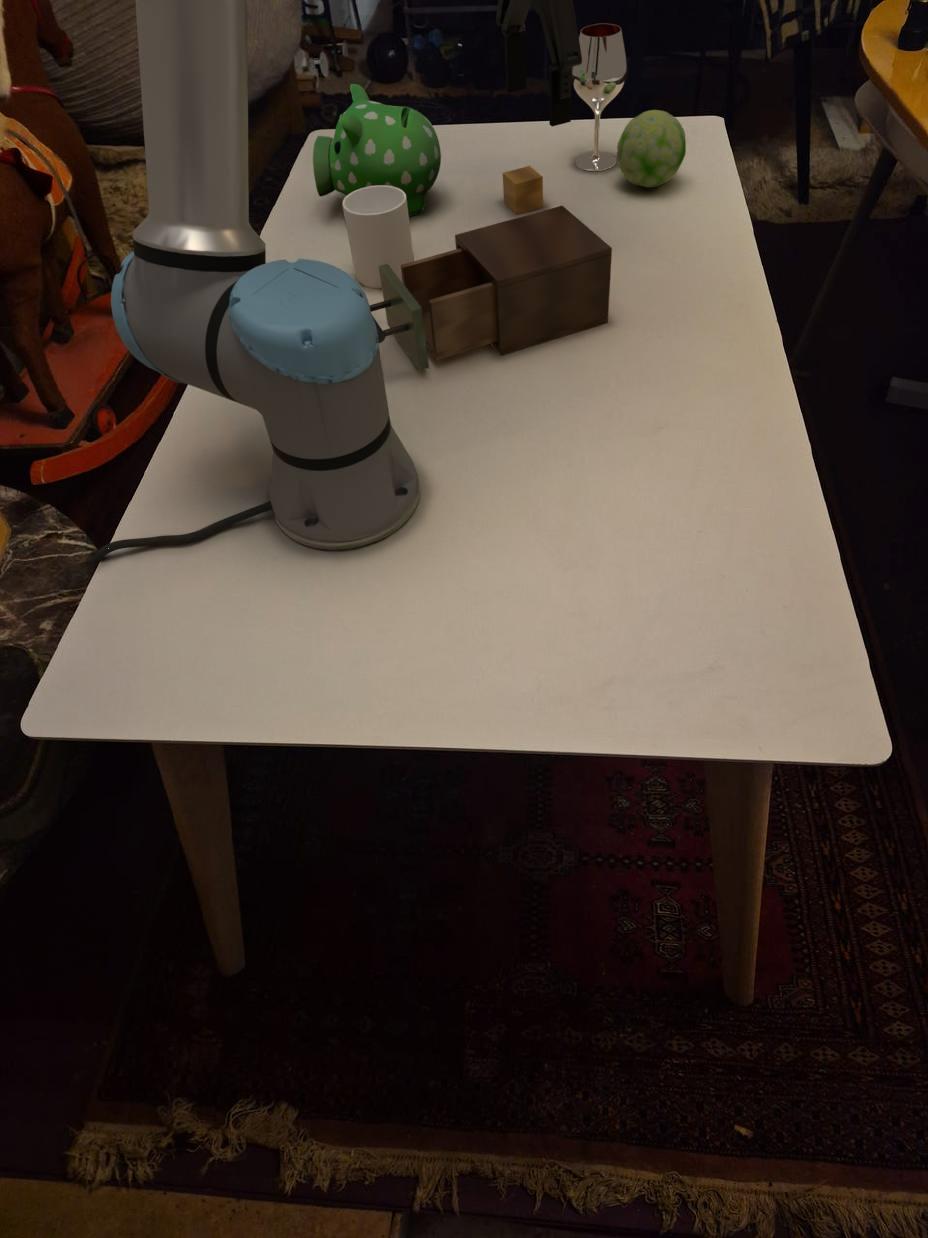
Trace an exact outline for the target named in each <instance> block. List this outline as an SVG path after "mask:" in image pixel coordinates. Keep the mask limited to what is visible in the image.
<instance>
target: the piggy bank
mask: <svg viewBox="0 0 928 1238" xmlns="http://www.w3.org/2000/svg"><path fill="white" fill-rule="evenodd" d="M349 88H350V93H351V94H350V95H351V98H352V103H351V104H350V106H349V107H348V108H347V109H346V110H345V111H344V112H343V113H342V114H340V115H339V119H338V120H337V124H336V126H335V130H334V134H333V137H331V136H325V135H317V137H316V138H315V140H314V143H313V149H312V170H313V177H314V183H315V188H316V191H317V194H318V196H319V197H324V196H326V195H329V194H332V193H333V192H334V191H336V192H338V193H340V194H342V195H345V197H346V196H347V195H349V194H350V193H352V192H354V191H356V190H358V189H361V188H365V187H370V186H379V185H384V186H393V187H396V188H399V189H401V190H402V191H403V192H404V193H405V194H406V199H407V207H408V215H409V217H411V216H418V215H420V214H421V213H422V212H423V210H424V208H425V206H426V196H427V193H428V192H429V191H430V190H431V189H432V188H433V186H434V185H435V182H436V181H437V179H438V175H439V174H440V169H441V162H442V161H441V160H442V152H441V146H440V140H439V138H438V135H437V131H436V129H435V128H434V126H433V124H432V122H430V120H429V119H428V118H427V117H426V116H425V115H423V113H421V112H419V111H418V110H416V109H414V108H411V107H408V106H401V105H400V106H399V105H398V106H397V105H394V106H393V105H389V104H385V103H381V102H377V101H375V100H370V97H369V96H368V93H367V92H366V90H365V89H364V88H363V87H362V86H361V85H360V84H356V83H351V84H350V85H349Z"/></svg>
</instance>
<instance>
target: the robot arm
mask: <svg viewBox="0 0 928 1238" xmlns="http://www.w3.org/2000/svg"><path fill="white" fill-rule="evenodd" d="M531 5H532V7H533V10H534V12H535V13H536V14H538V15H539V19H540V23H541V26H542V30H543V34H544V38H545V41H546V45H547V49H548V52H549V55H550V59H551V64H550V65H549V66H548V68H547V70H548V74H549V75H548V77H549V81H548V83H549V84H548V85H549V87H548V89H549V90H548V91H549V92H548V93H549V94H548V96H549V101H548V102H549V103H548V108H549V110H548V112H549V114H548V115H549V120H548V121H549V122H548V123H549V126H551V127H557V126H561V125H564V124H567V123H571V122H572V80H571V77H572V67H573V66H577V65H581V63H582V55H581V49H580V43H579V36H580V35H579V30H578V24H577V19H576V12H575V6H574V0H498V2H497V8H496V15H495V22H496V25H497V26H498V27H501V33H502V36H504V58H505V59H504V60H505V61H504V63H505V84H506V85H505V88H506V89H505V90H506V92H507V93H508V94H510V93H511V94H512V93H514V92H518V91H522V90H526V89H527V55H526V54H527V52H526V51H527V49H526V34H525V33H524V32H525V31H527V26H526V24H525V22H526V19H527V16H528V14H529V11H530V8H531ZM135 15H136V29H137V30H136V31H137V45H138V59H139V60H138V61H139V62H138V63H139V77H140V91H141V92H140V94H141V108H142V109H141V110H142V123H143V138H144V139H143V140H144V153H145V156H144V157H145V170H146V184H147V185H146V187H147V201H148V213H147V215H146V217H145V218H144V219H143V220H142V221H141V223H140V224H138V225H137V227H136V228H135V229H134V230H133V231H132V246H133V251H130V253H128V254H127V256H126V257H125V258H123V260H122V262H121V264H120V268H121V270H120V271H119V273H116V274H115V275H114V278H113V281H112V285H111V293H110V294H111V295H110V305H111V313H112V318H113V323H114V325H115V329H116V331H117V334H118V336H119V338H120V339H121V341H122V343H123V344H124V346H125V347H126V349H127V350H128V351H129V353H130V354H131V355H132V356H133V357H134V358H135V359H136V360H137V361H138V362H140V363H141V364H143V365H144V366H146V367H147V368H149V369H151V370H154V371H156V372H158V373H159V374H161V376H163V377H165V378H167V379H169V380H171V381H173V382H175V383H179V384H185V385H189V386H191V387H194V388H197V389H200V390H202V391H205V392H208V393H209V394H210V393H211V394H213V395H216V396H218V397H221V398H224V399H226V400H229V401H232V402H235V403H238V404H240V405H243V406H245V407H248V408H251V409H253V410H256V411H257V412H258V413H259V414H260V415H261V417H262V419H263V420H262V421H263V423H264V426H265V430H266V433H267V435H268V439H269V442H270V445H271V448H272V460H271V471H270V482H269V499H270V500H269V501H267V502H263V503H260V504H258V505H256V506H253V507H250V508H248V509H245V510H243V511H239V512H238V513H235V514H233V515H230V516H227V517H225V518H222V519H221V520H218V521H215V522H213V523H212V524H209V525H207V526H204V527H203V528H201V529H197V530H195V531H192V532H188V533H184V534H168V535H157V536H150V537H138V538H137V537H136V538H127V539H126V538H125V539H119V540H115V541H111V542H109V543H107V544H105V545H104V546H102V547H100V548H99V549H98V550H97V551H96V552H95V553H94V554H93V557H92V558H91V563H92V564H99V563H100V562H102V561H103V560H104V558H106V556H107V555H109V554H110V553H113V552H115V551H118V550H124V549H131V548H145V547H153V546H161V545H179V544H186V543H191V542H195V541H198V540H201V539H203V538H206V537H208V536H209V535H212V534H214V533H217V532H218V531H221V530H223V529H226V528H228V527H230V526H233V525H235V524H238V523H240V522H244V521H245V520H248V519H251V518H253V517H256V516H258V515H261V514H264V513H266V512H269V511H271V510H272V513H273V516H274V520H275V522H276V524H277V525H278V527H279V528H280V530H281V531H282V532H283V533H284V534H285V535H286V536H288V538H290V539H292V540H293V541H295V542H297V543H299V544H301V545H304V546H307V547H310V548H314V549H319V550H331V551H335V550H336V551H337V550H338V551H339V550H350V549H355V548H360V547H364V546H367V545H370V544H373V543H375V542H378V541H380V540H382V539H384V538H386V537H387V536H390V535H392V534H394V533H395V532H396V531H397V530H399V529H400V528H401V527H402V526H403V525H404V524H405V523H406V522H407V521H408V520H409V519H410V518H411V516H412V515H413V513H414V512H415V510H416V508H417V506H418V504H419V499H420V495H421V488H420V481H419V474H418V472H417V469H416V466H415V462H414V461H413V458H412V457H411V456H410V454H409V452H408V450H407V449H406V447H405V446H404V444H403V442H402V441H401V439H400V438H399V435H398V434H397V433H396V431H395V429H394V427H393V426H392V422H391V417H390V411H389V404H388V398H387V396H388V395H387V391H386V383H385V377H384V371H383V364H382V357H381V352H380V346H379V345H380V343H378V333H377V330H376V324H375V322H374V319H373V317H374V316H373V314H372V312H371V310H370V306H369V305H370V303H369V300H368V296H367V294H366V292H365V291H364V289H363V287H362V286H361V285H360V284H359V282H357V281H358V280H357V279H355V278H354V277H353V276H351V275H350V274H349V273H347V272H346V271H344V270H342V269H341V268H339V267H336V266H335V265H332V264H329V263H327V262H323V261H321V260H320V261H319V260H314V259H306V258H298V259H297V260H296V261H293V262H289V261H288V260H287V259H279V260H273V261H269V262H267V261H266V260H267V259H266V258H267V257H266V255H267V253H266V251H267V249H266V248H267V247H266V246H267V245H266V243H265V241H264V240H263V239H262V238H261V236H260V235H259V234H258V233H257V232H256V231H255V229H254V228H253V227H252V225H251V223H250V222H249V221H250V220H249V219H250V213H249V210H250V208H249V206H250V202H249V201H250V199H249V197H250V196H249V195H250V194H249V192H250V191H249V82H248V81H249V76H248V73H249V72H248V71H249V69H248V67H249V66H248V65H249V64H248V60H249V59H248V58H249V57H248V0H135ZM519 32H520V33H519ZM371 314H372V315H371ZM372 316H373V317H372ZM108 548H109V549H108Z"/></svg>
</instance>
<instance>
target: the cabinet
mask: <svg viewBox="0 0 928 1238" xmlns="http://www.w3.org/2000/svg"><path fill="white" fill-rule="evenodd" d="M454 241H455V242H454V243H455V250H456V249H459V248H462V249H463V250H464V251H465V252H466V253H467V254H468V255H469V257H470V258H471V259H472V260H473V261H474V262H475V263H476V264H477V265H478V266H479V268H480V269H481V270H482V271H483V272H484V273H485V274H486V275H487V276H488V277H489V278H490V280H491V281H492V282H493V283H494V284H495V296H496V316H497V336H498V341H497V342H493V343H490V345H491V346H492V347H493V348H494V349H495V350H496V352H497V353H498V354H499V355H500V356H505V355H508V354H512V353H514V352H517V351H520V350H521V351H522V350H524V349H527V348H531V347H533V346H537V345H540V344H544V343H547V342H550V341H553V340H557V339H560V338H563V337H566V336H569V335H572V334H576V333H579V332H582V331H585V330H589V329H593V328H595V327H599V326H601V325H605V324H607V323H608V322H609V309H610V293H611V292H610V289H611V277H612V276H611V275H612V274H611V273H612V259H613V247H612V246H610V245H609V244H608V243H607V242H606V241H604V239H602V238H601V237H600V236H599V235H598V234H596V232H594V231H593V230H592V229H590V228H589V227H588V226H587V225H586V224H585V223H584V222H582V220H581V219H579V218H578V217H577V216H576V215H574V214H573V213H572V212H571V211H569V209H567V208H566V207H565V206H564V205H559V206H555V207H551V208H548V209H543V210H540V211H536V212H534V213H533V212H532V213H529V214H526V215H523V216H518V217H515V218H511V219H508V220H504V221H500V222H497V223H493V224H490V225H489V224H488V225H486V226H483V227H479V228H476V229H472V230H468V231H464V232H460V233H457V234H454Z"/></svg>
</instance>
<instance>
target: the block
mask: <svg viewBox="0 0 928 1238" xmlns="http://www.w3.org/2000/svg"><path fill="white" fill-rule="evenodd" d="M502 189H503V191H502V193H503V203H504V205H506V206H507V208H509V210H511V211H512V212H513V213H514V214H515V215H520V214H523V213H527V212H530V211H535V210H537V209H542V208H544V176H543V175H541V174H540V173H539V172H538V171H537V170H535V169H534V167H532V166H530V165H528V166H524V167H523V166H522V167H520V168H516V169H512V170H509V171H504V172H502Z"/></svg>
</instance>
